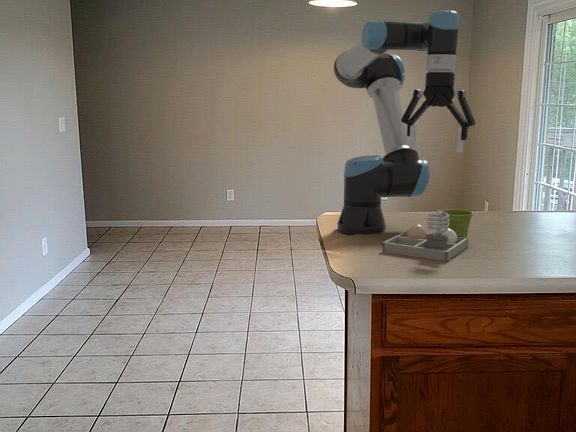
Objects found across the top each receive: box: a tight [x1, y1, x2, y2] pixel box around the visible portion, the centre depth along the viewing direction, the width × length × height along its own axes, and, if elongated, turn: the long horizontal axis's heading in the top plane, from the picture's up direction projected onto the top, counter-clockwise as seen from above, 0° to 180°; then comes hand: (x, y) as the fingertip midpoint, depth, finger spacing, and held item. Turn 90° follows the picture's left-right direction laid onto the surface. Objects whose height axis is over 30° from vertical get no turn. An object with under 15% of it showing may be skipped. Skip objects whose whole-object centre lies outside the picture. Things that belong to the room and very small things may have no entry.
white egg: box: [441, 228, 457, 244], centre depth 165 cm, size 6×6×6 cm
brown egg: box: [406, 224, 428, 240], centre depth 170 cm, size 6×6×6 cm
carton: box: [382, 229, 469, 262], centre depth 164 cm, size 18×18×3 cm
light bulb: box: [426, 209, 449, 250], centre depth 157 cm, size 6×6×12 cm
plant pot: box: [441, 209, 474, 238], centre depth 176 cm, size 9×9×9 cm
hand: (435, 150), depth 166 cm, fingers open, 13 cm apart
